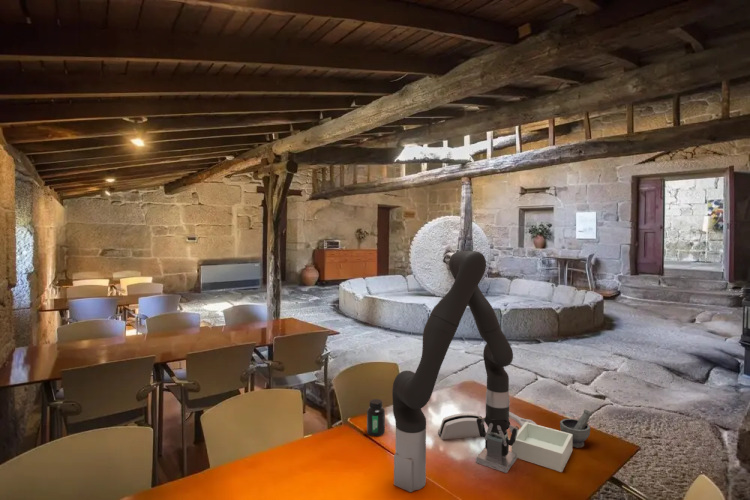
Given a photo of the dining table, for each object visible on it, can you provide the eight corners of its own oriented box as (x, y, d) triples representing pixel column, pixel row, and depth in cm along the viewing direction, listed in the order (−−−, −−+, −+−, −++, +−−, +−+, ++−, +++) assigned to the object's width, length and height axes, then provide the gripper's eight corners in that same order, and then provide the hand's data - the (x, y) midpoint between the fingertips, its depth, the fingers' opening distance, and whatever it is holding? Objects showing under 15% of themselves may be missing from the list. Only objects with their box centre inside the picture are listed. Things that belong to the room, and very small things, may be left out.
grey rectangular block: (501, 460, 133) (501, 439, 133) (487, 455, 136) (487, 435, 136) (506, 454, 137) (506, 433, 137) (492, 449, 140) (492, 429, 140)
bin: (562, 472, 130) (562, 453, 130) (511, 456, 140) (511, 438, 139) (572, 451, 143) (572, 434, 143) (525, 437, 153) (525, 421, 152)
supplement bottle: (377, 438, 152) (377, 406, 151) (363, 433, 156) (363, 402, 155) (388, 431, 157) (388, 400, 157) (374, 426, 161) (374, 396, 161)
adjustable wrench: (488, 406, 181) (488, 402, 181) (500, 404, 184) (500, 401, 183) (527, 432, 158) (527, 427, 158) (540, 429, 160) (540, 424, 160)
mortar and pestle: (569, 450, 143) (569, 416, 143) (554, 437, 153) (555, 405, 152) (599, 448, 145) (600, 415, 144) (582, 435, 154) (583, 404, 154)
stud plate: (506, 473, 130) (506, 452, 129) (476, 462, 136) (476, 442, 135) (516, 459, 138) (516, 439, 137) (487, 450, 144) (487, 430, 143)
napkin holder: (478, 429, 159) (482, 409, 155) (483, 439, 155) (487, 418, 151) (436, 433, 156) (440, 412, 152) (440, 443, 152) (444, 422, 148)
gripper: (472, 400, 137) (471, 450, 138) (515, 411, 129) (514, 465, 129) (481, 393, 143) (480, 441, 144) (522, 403, 135) (522, 454, 135)
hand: (496, 452), depth 137 cm, fingers closed on grey rectangular block, 4 cm apart
